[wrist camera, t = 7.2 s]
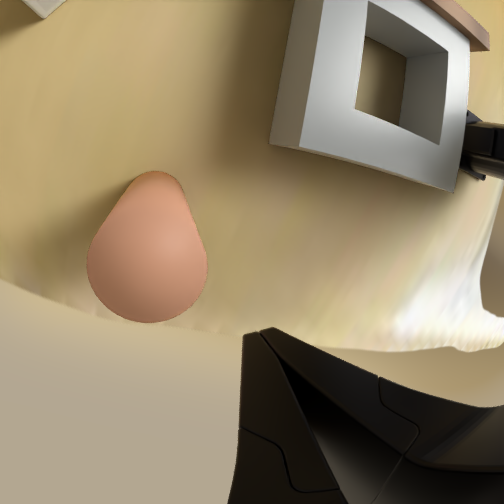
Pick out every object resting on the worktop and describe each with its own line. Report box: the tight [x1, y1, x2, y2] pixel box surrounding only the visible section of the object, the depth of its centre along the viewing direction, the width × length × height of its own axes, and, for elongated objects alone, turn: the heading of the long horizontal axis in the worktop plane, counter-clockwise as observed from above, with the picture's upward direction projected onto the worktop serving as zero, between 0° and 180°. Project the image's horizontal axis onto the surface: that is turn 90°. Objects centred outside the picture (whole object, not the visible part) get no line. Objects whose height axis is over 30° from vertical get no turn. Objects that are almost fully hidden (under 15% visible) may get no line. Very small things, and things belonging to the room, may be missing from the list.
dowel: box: [87, 171, 208, 323], centre depth 14 cm, size 4×4×11 cm
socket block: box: [268, 0, 470, 193], centre depth 18 cm, size 14×14×5 cm
